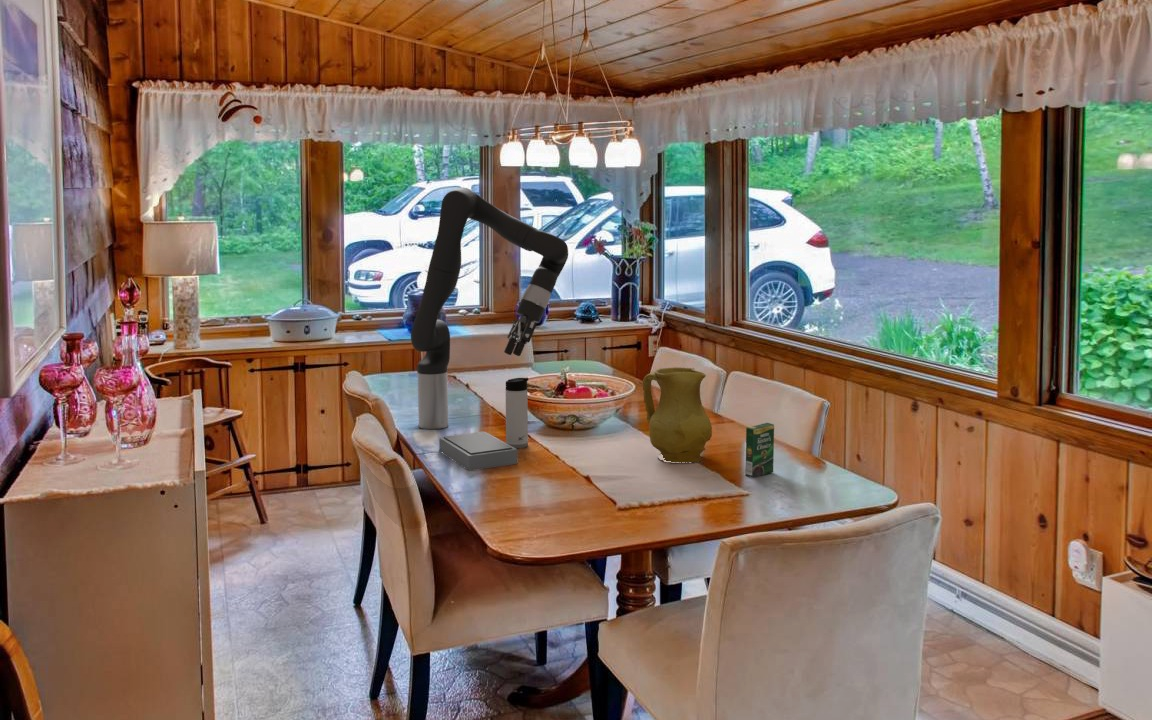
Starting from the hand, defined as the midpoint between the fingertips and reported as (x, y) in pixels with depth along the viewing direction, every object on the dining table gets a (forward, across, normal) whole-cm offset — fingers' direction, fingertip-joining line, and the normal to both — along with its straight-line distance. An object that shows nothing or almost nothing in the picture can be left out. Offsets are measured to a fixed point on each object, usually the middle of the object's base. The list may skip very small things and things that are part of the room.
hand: (511, 354), depth 283 cm
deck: (+31, +8, 0) cm, 32 cm away
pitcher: (+9, +27, +48) cm, 56 cm away
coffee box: (+6, +50, +60) cm, 78 cm away
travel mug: (+24, 0, +13) cm, 27 cm away
